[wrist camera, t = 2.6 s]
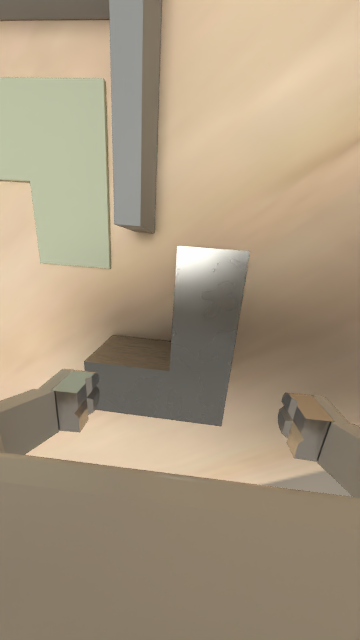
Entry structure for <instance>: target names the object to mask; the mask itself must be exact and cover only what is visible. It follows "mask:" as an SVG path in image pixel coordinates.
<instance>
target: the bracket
mask: <svg viewBox="0 0 360 640" xmlns="http://www.w3.org/2000/svg"><path fill="white" fill-rule="evenodd" d="M249 255H250V251H240V250H227V249H213V248H199V247H185V246H177V259H176V275H175V291H174V307H173V323H172V339H171V341H164V340H154V339H145V338H135V337H126V336H116V335H113V336H111V337H110V338H109V339H108V340H107V341H106V342H105V343H104V344H103V345H102V346H101V347H99V348H98V349H97V350H96V351H95V352H94V353H93V354H92V355H91V356H90V357H88V358H87V359H86V360H85V361H84V366H85V371H88V372H96V373H98V375H99V382H98V384H97V385H96V386H97V387H98V389H99V390H100V397H99V402H98V405H97V407H96V409H95V410H102V411H109V412H117V413H124V414H132V415H140V416H147V417H155V418H162V419H170V420H177V421H185V422H193V423H200V424H208V425H215V426H222V419H223V413H224V407H225V401H226V395H227V389H228V383H229V377H230V371H231V365H232V359H233V352H234V346H235V340H236V334H237V328H238V322H239V316H240V310H241V304H242V298H243V291H244V285H245V279H246V273H247V267H248V261H249Z"/></svg>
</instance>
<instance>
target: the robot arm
mask: <svg viewBox="0 0 360 640" xmlns="http://www.w3.org/2000/svg"><path fill="white" fill-rule="evenodd" d="M98 382H99V375H98V373H96V372H88V371H80V370H72V369H62V370H61V371H59V372H58V373H57V374H56V375H54V376H53V377H52V378H51V379H50V380H48V381H47V382H46V383H45V384H44V385H42V386H41V387H40V388H39V389H32V390H30V391H27V392H24V393H21V394H18V395H16V396H13V397H10V398H7V399H4V400H1V401H0V640H360V427H358V426H357V425H355V424H350V423H349V422H348V421H347V420H346V419H345V418H344V417H343V415H342V414H341V413H340V412H339V411H338V410H337V409H336V408H335V407H334V406H333V405H332V404H331V403H330V401H329V400H328V399H327V398H326V397H324V396H321V395H306V394H294V393H285V394H284V395H283V398H282V403H283V404H284V406H283V407H282V408H281V409H280V410H279V414H278V424H279V428H280V430H281V432H282V434H283V435H284V436H285V437H287V438H288V440H287V445H288V447H289V449H290V451H291V453H292V455H293V457H294V458H296V459H303V460H310V461H317V463H318V464H319V465H320V466H321V467H322V468H323V469H324V470H326V471H327V472H328V473H329V474H330V475H331V476H332V477H333V478H334V479H335V480H336V481H337V482H338V483H339V484H340V485H341V486H342V487H343V488H344V489H346V490H347V491H348V492H349V493H350V494H351V495H352V496H353V497H349V496H342V495H334V494H326V493H318V492H310V491H301V490H295V489H287V488H279V487H272V486H264V485H256V484H249V483H241V482H233V481H225V480H218V479H210V478H202V477H194V476H186V475H178V474H170V473H162V472H154V471H146V470H138V469H130V468H123V467H115V466H107V465H99V464H91V463H83V462H76V461H68V460H60V459H52V458H44V457H36V456H29V455H25V454H26V453H28V452H29V451H31V450H32V449H34V448H35V447H37V446H38V445H40V444H41V443H43V442H44V441H46V440H47V439H49V438H50V437H52V436H53V435H55V434H56V433H58V432H59V431H70V432H81V430H82V429H83V427H84V426H85V424H86V423H87V421H88V415H89V414H91V413H93V412H94V411H95V409H96V407H97V405H98V402H99V397H100V390H99V389H98V387H97V386H96V385H97V384H98Z"/></svg>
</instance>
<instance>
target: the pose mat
mask: <svg viewBox="0 0 360 640" xmlns="http://www.w3.org/2000/svg"><path fill="white" fill-rule="evenodd" d="M0 181H19V182H30V186H31V193H32V201H33V209H34V217H35V225H36V232H37V240H38V248H39V256H40V263H46V264H58V265H70V266H82V267H95V268H107V269H111V253H110V218H109V184H108V149H107V115H106V82H105V80H104V79H99V78H26V77H0Z"/></svg>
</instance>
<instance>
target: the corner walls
mask: <svg viewBox="0 0 360 640" xmlns="http://www.w3.org/2000/svg"><path fill="white" fill-rule="evenodd" d="M161 13H162V0H0V20H58V19H110V56H111V100H112V144H113V188H114V224H115V225H118V226H121V227H124V228H126V229H129V230H132V231H138V232H153V233H155V205H156V173H157V141H158V109H159V77H160V45H161Z"/></svg>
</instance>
